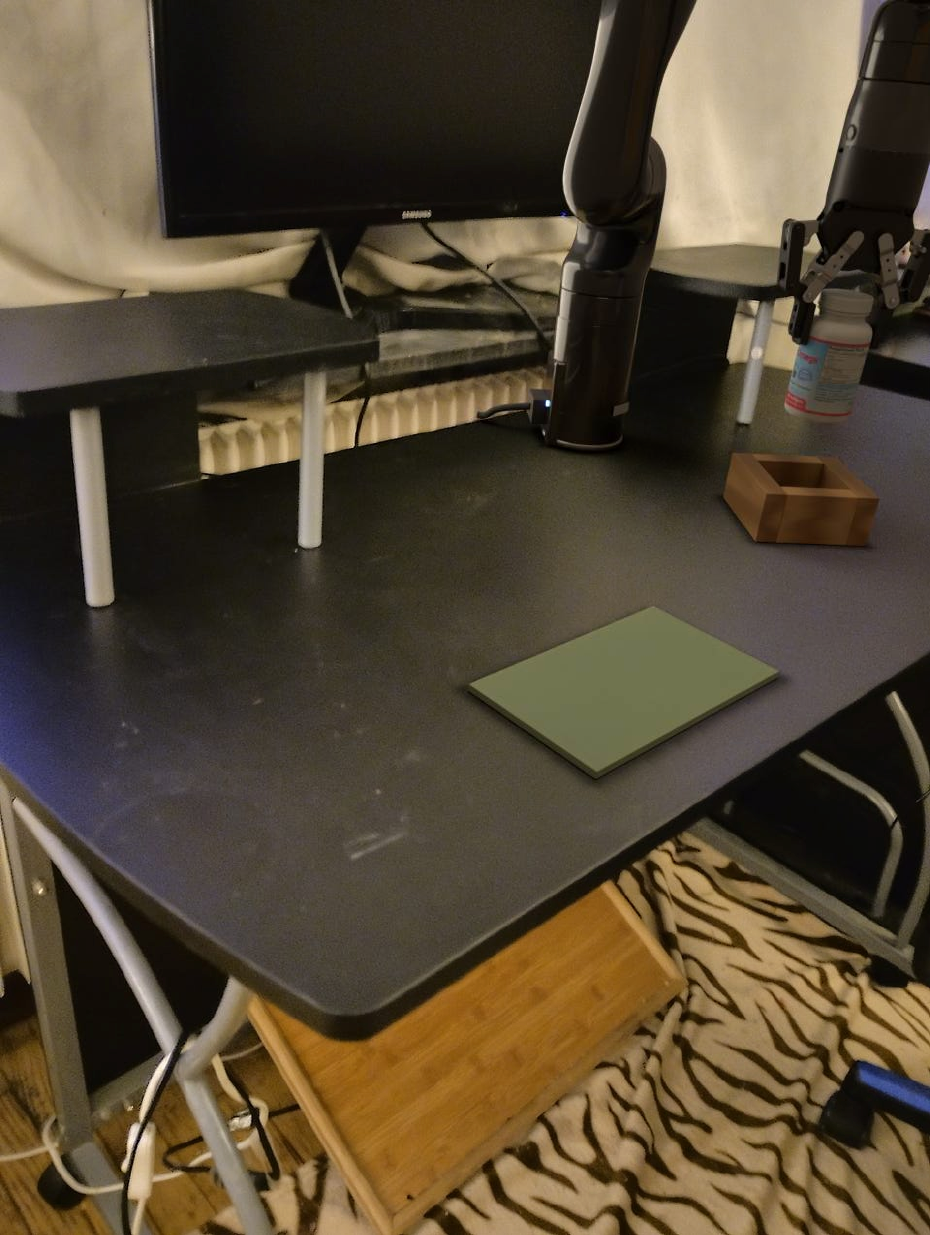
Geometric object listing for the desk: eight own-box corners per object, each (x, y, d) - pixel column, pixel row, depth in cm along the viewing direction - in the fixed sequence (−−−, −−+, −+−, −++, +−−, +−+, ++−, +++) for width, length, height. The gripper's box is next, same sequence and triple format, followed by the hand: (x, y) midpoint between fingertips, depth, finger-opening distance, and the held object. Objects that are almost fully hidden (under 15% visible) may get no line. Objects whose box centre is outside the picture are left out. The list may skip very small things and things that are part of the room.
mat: (595, 779, 61) (596, 771, 60) (467, 690, 68) (468, 683, 68) (777, 677, 72) (779, 670, 72) (651, 611, 80) (653, 605, 80)
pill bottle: (776, 402, 96) (804, 284, 91) (838, 407, 96) (870, 289, 91) (791, 422, 91) (822, 297, 85) (857, 427, 91) (892, 303, 85)
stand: (755, 542, 94) (766, 493, 91) (722, 497, 103) (732, 452, 101) (866, 546, 95) (880, 498, 92) (823, 501, 104) (835, 457, 102)
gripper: (947, 147, 86) (891, 340, 94) (787, 133, 85) (745, 330, 93) (991, 155, 79) (926, 361, 88) (819, 140, 78) (770, 351, 87)
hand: (833, 344), depth 90 cm, fingers closed on pill bottle, 6 cm apart
